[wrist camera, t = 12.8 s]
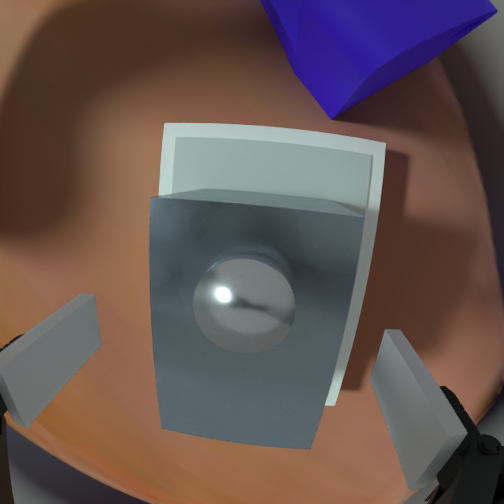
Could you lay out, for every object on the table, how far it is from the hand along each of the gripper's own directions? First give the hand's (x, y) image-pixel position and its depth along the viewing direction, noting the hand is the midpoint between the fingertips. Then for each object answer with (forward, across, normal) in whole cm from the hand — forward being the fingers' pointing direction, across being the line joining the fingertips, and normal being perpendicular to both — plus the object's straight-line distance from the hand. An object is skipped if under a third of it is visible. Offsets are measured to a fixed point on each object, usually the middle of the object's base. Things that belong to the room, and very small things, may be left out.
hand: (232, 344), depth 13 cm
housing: (+9, +1, 0) cm, 9 cm away
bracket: (+12, +3, +22) cm, 25 cm away
